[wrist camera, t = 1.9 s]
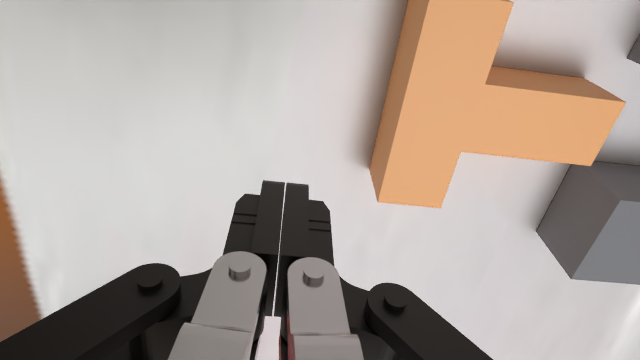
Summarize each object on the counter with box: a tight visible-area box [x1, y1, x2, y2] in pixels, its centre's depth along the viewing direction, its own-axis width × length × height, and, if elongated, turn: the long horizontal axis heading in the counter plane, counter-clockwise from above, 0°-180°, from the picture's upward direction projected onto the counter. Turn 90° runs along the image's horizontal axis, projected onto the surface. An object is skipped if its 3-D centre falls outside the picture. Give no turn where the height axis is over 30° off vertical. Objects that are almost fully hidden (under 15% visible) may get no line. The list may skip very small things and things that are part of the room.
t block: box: [369, 0, 626, 208], centre depth 25 cm, size 12×12×4 cm
